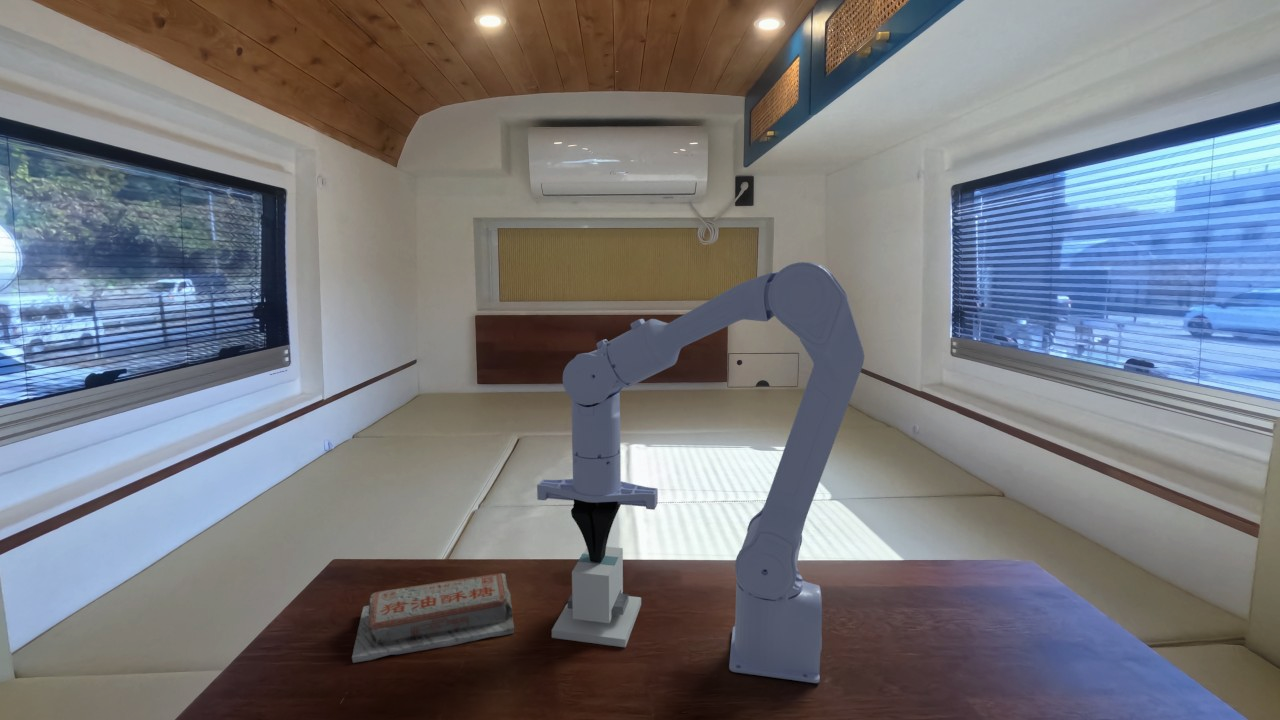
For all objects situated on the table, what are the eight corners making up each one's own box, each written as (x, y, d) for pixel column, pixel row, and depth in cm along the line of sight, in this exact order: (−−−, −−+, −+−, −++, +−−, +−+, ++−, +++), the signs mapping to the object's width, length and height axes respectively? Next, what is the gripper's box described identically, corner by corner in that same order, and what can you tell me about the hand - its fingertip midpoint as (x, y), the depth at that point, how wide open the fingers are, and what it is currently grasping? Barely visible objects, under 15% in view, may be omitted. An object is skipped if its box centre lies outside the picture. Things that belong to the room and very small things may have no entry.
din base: (641, 604, 78) (641, 597, 77) (625, 647, 69) (625, 639, 69) (575, 596, 79) (575, 589, 79) (551, 637, 71) (551, 629, 70)
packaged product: (506, 561, 80) (514, 600, 71) (507, 594, 81) (515, 637, 72) (360, 582, 75) (347, 628, 65) (363, 618, 75) (351, 668, 66)
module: (623, 591, 77) (623, 547, 76) (609, 623, 70) (609, 575, 69) (588, 587, 78) (588, 544, 77) (572, 618, 71) (571, 571, 70)
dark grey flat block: (628, 601, 75) (628, 594, 74) (623, 615, 72) (622, 607, 71) (575, 595, 76) (575, 587, 76) (567, 608, 73) (567, 600, 73)
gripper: (662, 445, 73) (661, 548, 75) (550, 438, 76) (552, 537, 78) (651, 463, 66) (651, 577, 68) (529, 455, 69) (532, 564, 71)
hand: (597, 558), depth 73 cm, fingers closed
